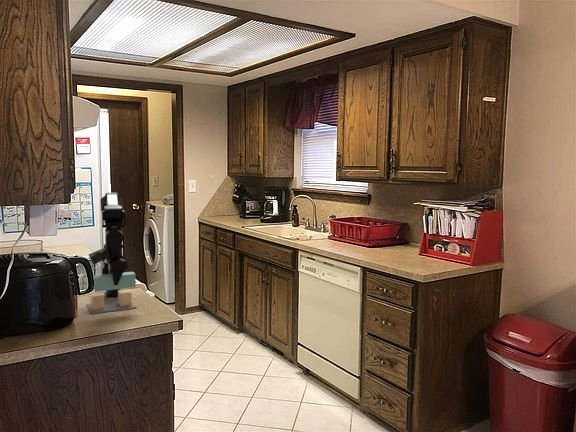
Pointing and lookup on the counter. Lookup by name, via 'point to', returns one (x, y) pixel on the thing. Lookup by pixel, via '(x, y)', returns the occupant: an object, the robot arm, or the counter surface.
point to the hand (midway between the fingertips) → (114, 283)
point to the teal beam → (107, 282)
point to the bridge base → (101, 306)
